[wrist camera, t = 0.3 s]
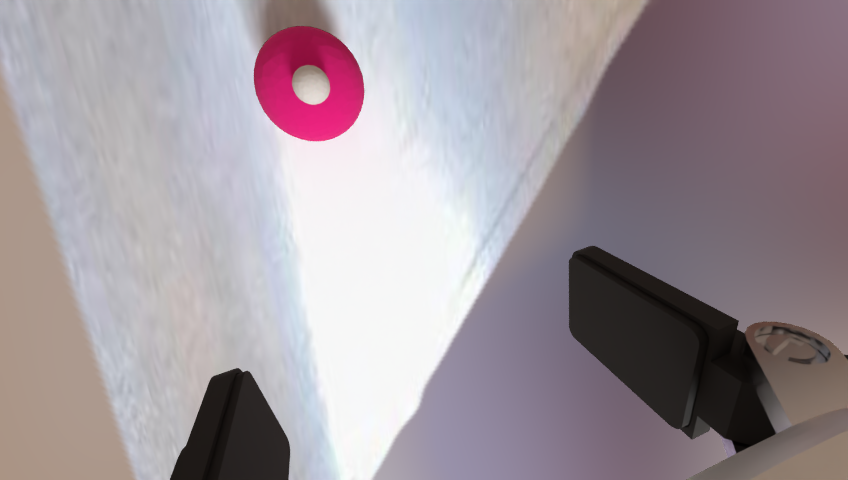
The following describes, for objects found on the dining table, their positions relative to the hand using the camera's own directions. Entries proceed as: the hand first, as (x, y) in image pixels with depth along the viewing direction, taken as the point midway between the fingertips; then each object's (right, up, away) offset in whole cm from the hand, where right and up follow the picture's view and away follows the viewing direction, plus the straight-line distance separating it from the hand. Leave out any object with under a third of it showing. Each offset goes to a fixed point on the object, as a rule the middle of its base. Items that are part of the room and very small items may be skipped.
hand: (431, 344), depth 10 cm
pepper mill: (-11, +18, +24) cm, 32 cm away
